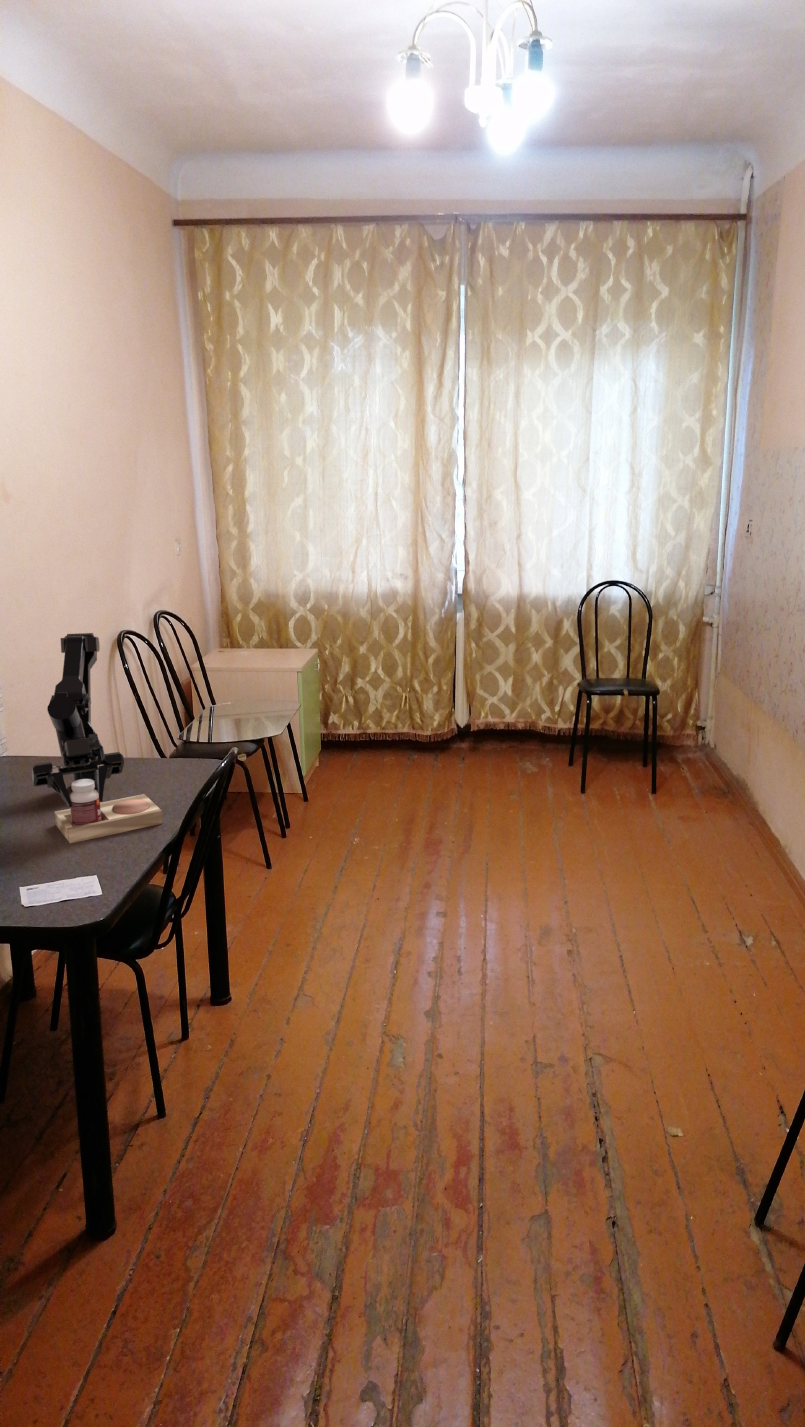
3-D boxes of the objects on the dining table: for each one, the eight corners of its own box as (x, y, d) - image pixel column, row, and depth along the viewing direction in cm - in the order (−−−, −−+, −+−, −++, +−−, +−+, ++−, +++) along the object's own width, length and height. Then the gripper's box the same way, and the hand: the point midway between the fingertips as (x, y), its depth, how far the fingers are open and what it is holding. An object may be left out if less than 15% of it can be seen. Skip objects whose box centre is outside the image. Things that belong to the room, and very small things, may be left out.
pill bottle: (106, 832, 206) (101, 784, 203) (77, 838, 203) (72, 789, 200) (97, 822, 211) (93, 775, 208) (69, 828, 208) (64, 781, 205)
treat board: (55, 824, 210) (54, 810, 209) (145, 806, 220) (144, 792, 219) (69, 843, 200) (68, 828, 199) (162, 823, 211) (161, 809, 210)
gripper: (27, 728, 199) (40, 794, 193) (118, 716, 208) (134, 780, 201) (26, 753, 208) (39, 817, 202) (114, 741, 217) (128, 802, 210)
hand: (85, 803), depth 204 cm, fingers closed on pill bottle, 6 cm apart
